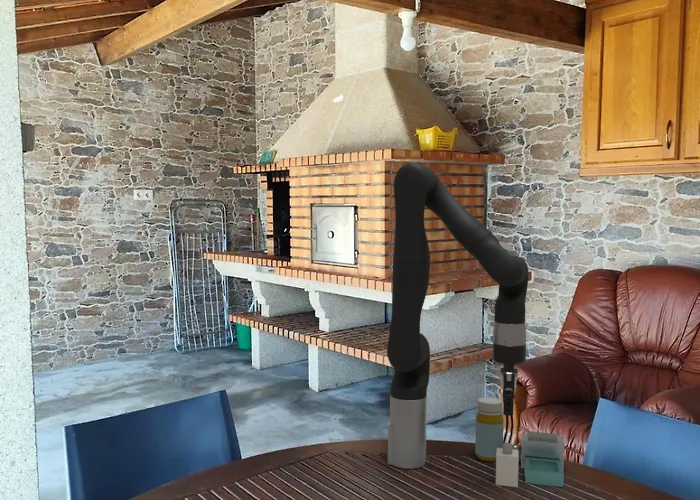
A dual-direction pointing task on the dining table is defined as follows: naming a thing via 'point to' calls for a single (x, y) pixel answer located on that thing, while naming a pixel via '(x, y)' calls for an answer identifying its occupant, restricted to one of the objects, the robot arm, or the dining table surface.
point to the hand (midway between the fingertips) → (508, 409)
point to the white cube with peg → (507, 466)
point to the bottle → (489, 428)
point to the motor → (542, 458)
